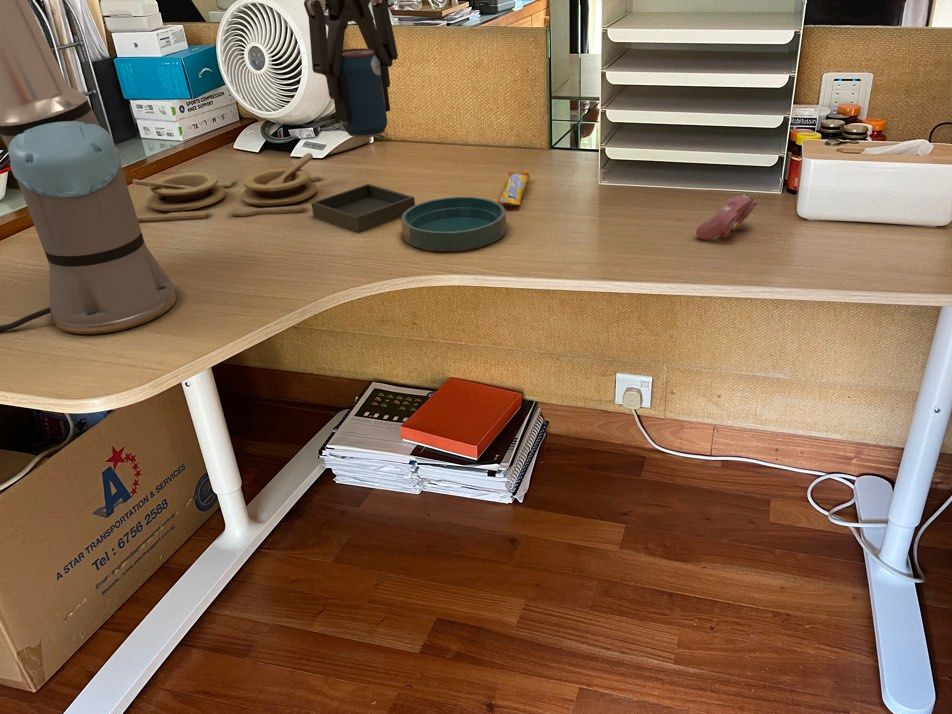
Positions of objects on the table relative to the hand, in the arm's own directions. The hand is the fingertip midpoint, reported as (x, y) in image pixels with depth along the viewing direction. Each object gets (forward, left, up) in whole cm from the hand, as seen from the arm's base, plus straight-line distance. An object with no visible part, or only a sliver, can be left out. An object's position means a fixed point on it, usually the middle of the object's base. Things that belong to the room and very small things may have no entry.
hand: (363, 114), depth 131 cm
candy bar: (+22, -11, -17) cm, 30 cm away
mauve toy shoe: (+28, -50, -17) cm, 59 cm away
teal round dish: (+3, -16, -17) cm, 23 cm away
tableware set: (-9, +29, -17) cm, 35 cm away
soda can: (0, 0, -3) cm, 3 cm away
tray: (0, +3, -17) cm, 17 cm away
